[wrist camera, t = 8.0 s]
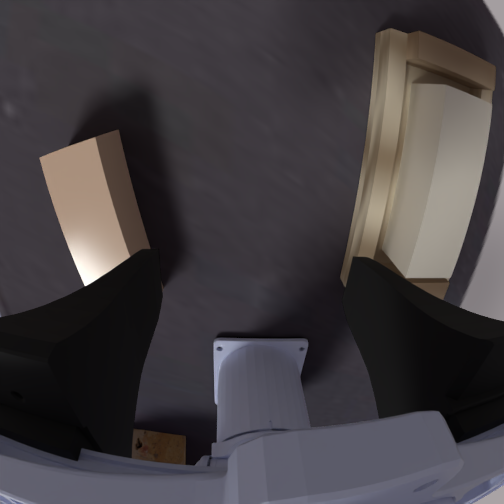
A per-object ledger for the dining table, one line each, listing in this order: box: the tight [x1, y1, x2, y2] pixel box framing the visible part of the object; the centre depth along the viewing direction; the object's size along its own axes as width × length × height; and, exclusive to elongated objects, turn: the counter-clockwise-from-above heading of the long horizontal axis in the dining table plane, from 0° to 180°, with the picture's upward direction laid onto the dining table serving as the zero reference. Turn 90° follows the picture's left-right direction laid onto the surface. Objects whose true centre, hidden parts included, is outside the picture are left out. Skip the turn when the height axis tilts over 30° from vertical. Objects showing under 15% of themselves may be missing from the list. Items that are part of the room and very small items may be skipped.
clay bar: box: [382, 84, 492, 278], centre depth 17 cm, size 12×4×4 cm, turn 176°
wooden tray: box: [340, 28, 496, 300], centre depth 18 cm, size 18×9×4 cm, turn 176°
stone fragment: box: [132, 429, 186, 465], centre depth 32 cm, size 14×10×15 cm
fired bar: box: [40, 129, 164, 291], centre depth 19 cm, size 12×4×4 cm, turn 8°
